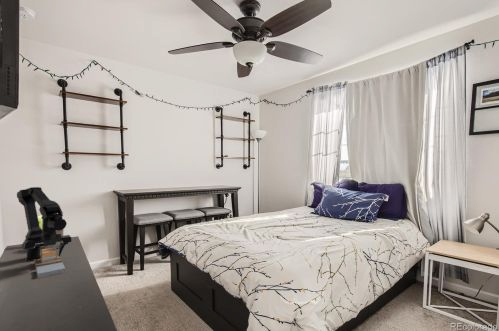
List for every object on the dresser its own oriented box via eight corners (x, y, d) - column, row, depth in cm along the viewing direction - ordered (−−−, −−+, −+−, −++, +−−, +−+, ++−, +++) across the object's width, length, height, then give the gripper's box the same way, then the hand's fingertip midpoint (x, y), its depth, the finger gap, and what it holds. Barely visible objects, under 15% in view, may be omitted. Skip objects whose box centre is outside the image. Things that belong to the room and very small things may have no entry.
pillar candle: (59, 244, 162) (60, 221, 162) (65, 247, 156) (66, 223, 156) (40, 248, 154) (41, 223, 154) (46, 251, 148) (46, 226, 148)
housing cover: (40, 254, 130) (40, 249, 130) (54, 252, 134) (54, 247, 134) (41, 258, 125) (42, 253, 125) (55, 255, 128) (55, 251, 129)
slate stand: (36, 271, 120) (36, 267, 120) (62, 266, 127) (62, 262, 127) (37, 278, 113) (37, 273, 113) (65, 272, 119) (65, 268, 119)
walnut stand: (34, 263, 129) (34, 259, 129) (58, 259, 136) (58, 255, 136) (35, 269, 122) (35, 265, 122) (61, 264, 129) (61, 260, 129)
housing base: (40, 259, 130) (40, 254, 130) (53, 257, 134) (54, 252, 134) (41, 263, 125) (41, 258, 125) (55, 260, 128) (55, 255, 128)
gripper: (25, 233, 117) (24, 267, 117) (73, 228, 130) (72, 258, 130) (24, 229, 125) (23, 260, 125) (70, 224, 138) (69, 252, 138)
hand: (48, 258), depth 129 cm, fingers open, 9 cm apart
